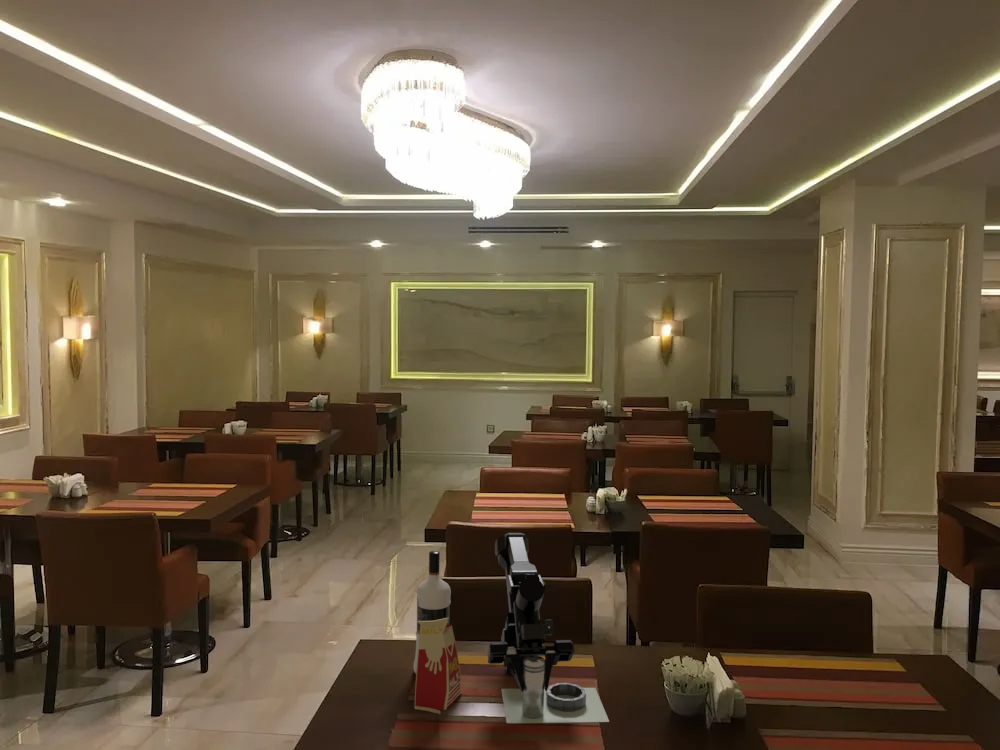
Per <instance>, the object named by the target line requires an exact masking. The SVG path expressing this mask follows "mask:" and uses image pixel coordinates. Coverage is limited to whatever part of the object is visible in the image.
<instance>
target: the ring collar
mask: <svg viewBox="0 0 1000 750" xmlns="http://www.w3.org/2000/svg"><path fill="white" fill-rule="evenodd" d="M584 688H585V687H583V686H581V685H579V684H574V683H572V682H557V683H554V684H549V685H548V690H547V691H546V702H547V705H548V706H550V707H551V708H553V709H555V710H559V711H563V712H574V711H577V710H580V709H583V707H584V706H585V705H586V692H585V689H584ZM558 695H570V696H574V697H576V698H574V699H563V698H559V697H556V696H558Z"/></svg>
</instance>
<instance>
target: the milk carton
mask: <svg viewBox="0 0 1000 750" xmlns="http://www.w3.org/2000/svg"><path fill="white" fill-rule="evenodd" d="M448 618H449V619H450V616H449V617H448ZM448 618H444V619H439V620H434V621H417V620H416V623H417V622H418V623H419V624H420V640H419V649H418V659H417V672H416V673H415V685H414V686H415V687H414V688H415V689H414V710H417V711H418V710H420V711H426V712H431V713H434V714H439V715H441V710H442V711H443V710H447V709H448V708H449V707H451V705H452V704H453V703H454V702H455V701H456V700H457V699H458V698H459V697H460V696H461V695H462V694H463V689H462V688H463V687H462V685H463V684H462V674H461V668H460V661H459V655H458V649H457V643H456V639H455V635H454V630H453V625H451V624H450V623H449V624H448Z"/></svg>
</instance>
